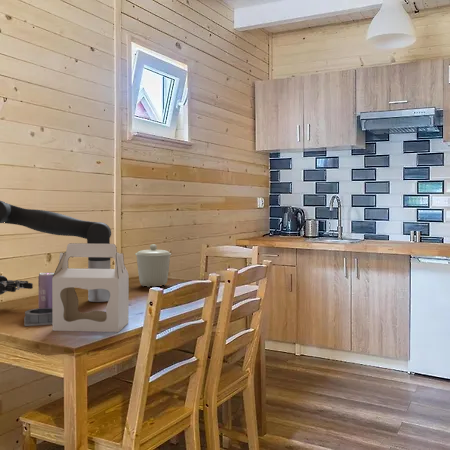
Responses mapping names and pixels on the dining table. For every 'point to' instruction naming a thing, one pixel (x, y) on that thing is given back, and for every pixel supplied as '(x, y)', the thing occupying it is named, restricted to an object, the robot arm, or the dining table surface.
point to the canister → (153, 266)
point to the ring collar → (38, 317)
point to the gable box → (89, 279)
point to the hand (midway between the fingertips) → (23, 287)
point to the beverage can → (45, 290)
